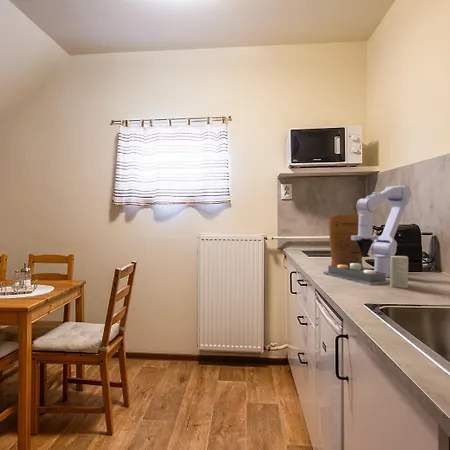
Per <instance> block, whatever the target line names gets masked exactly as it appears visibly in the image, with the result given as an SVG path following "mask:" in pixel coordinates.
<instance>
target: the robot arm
mask: <svg viewBox="0 0 450 450" xmlns="http://www.w3.org/2000/svg"><path fill="white" fill-rule="evenodd" d="M384 188H385V189H384V190H381V191H380V192H379V191H378V192H377V191H373V192H372V193H371V194H370V195H367V196H365V198H360V199H358V200H357V202H356V205H355V207H356V208H355V209H356V210H357V215H359V224H358V235H355V236H351V240H357V243H358V245H359V248H360V251H361V255H362V257H366V258H367V257H368V255H369V252H371V254H372V255H373V257H374V267H373V268H374V269H373V270H374V271H377V272H382V273H386V278H390V262H391V256H396V255H395V254H396V253H397V246H398V243H397V241H396V240H395V235H396V233H397V230H398V227H399V225H400V222H401V221H402V217H403V215H404V212H405V209H406V206H407V205H408V203H409V201H410V199H411V195H412V192H411V188H410V185H407V184H405V185H388V186H386V187H384ZM384 200H387V202H388V204H389V205H390V206H392V208H391V210H390V213H389V215H388V218H387V220H386V223H385V226H384V228H383V231H382V233H381V235H376V234H373V217H374V215H373V214H374V212H375V210H376V208H377V207H378V206H380V205H381V204H383V203H384ZM363 238H365V239H363Z"/></svg>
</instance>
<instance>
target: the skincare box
mask: <svg viewBox="0 0 450 450" xmlns="http://www.w3.org/2000/svg"><path fill="white" fill-rule="evenodd" d="M389 280H390V283H389V286H390V287H391V288H402V289H408V288H409V257H408V256H407V255H394V256H391V262H390V277H389Z"/></svg>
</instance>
